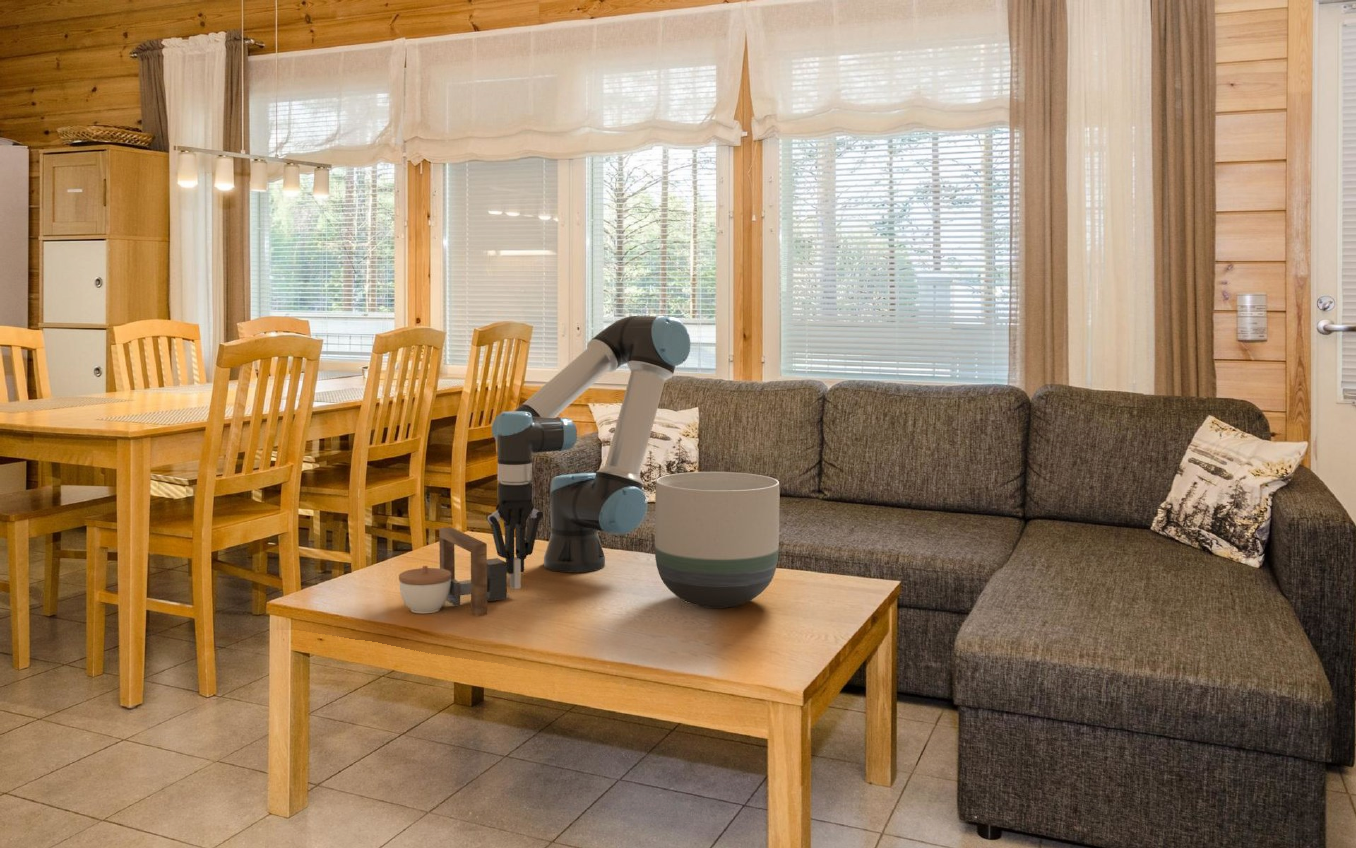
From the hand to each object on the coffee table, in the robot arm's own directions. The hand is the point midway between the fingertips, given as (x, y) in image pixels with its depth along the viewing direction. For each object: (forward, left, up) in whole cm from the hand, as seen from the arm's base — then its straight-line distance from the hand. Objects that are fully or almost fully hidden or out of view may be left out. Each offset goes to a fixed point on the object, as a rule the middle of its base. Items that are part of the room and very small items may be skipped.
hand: (515, 587), depth 240 cm
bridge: (+12, 0, -2) cm, 12 cm away
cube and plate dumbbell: (+9, 0, -2) cm, 9 cm away
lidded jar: (+21, 0, -2) cm, 21 cm away
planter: (-35, +27, -2) cm, 45 cm away
